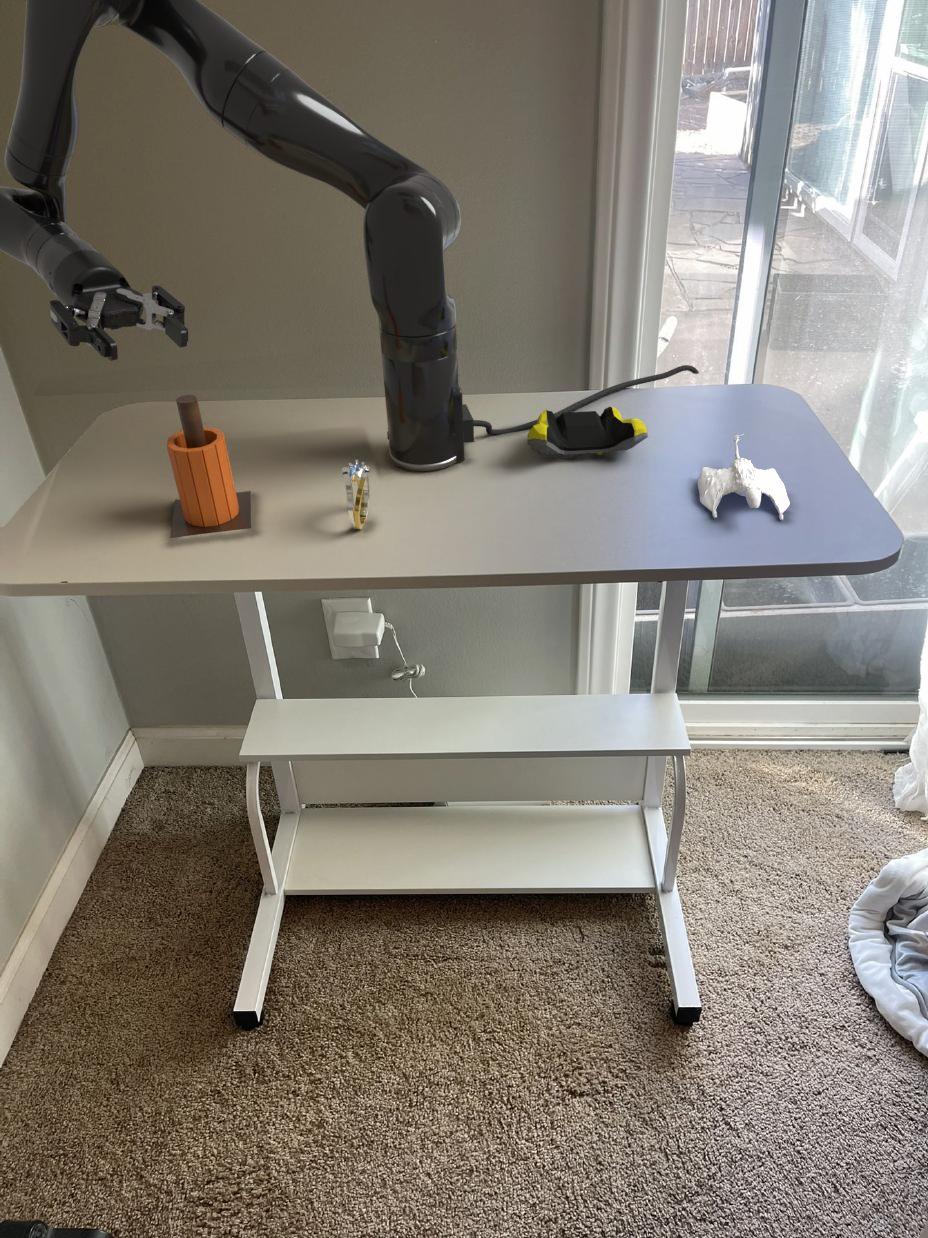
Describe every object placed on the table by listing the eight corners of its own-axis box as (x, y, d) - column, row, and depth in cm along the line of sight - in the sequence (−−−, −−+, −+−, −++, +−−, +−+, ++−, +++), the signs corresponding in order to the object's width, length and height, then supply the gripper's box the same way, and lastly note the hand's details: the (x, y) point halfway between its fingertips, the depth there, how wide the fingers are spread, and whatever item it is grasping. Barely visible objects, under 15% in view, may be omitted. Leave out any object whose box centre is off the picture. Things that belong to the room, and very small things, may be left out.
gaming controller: (648, 466, 115) (631, 432, 123) (652, 425, 112) (635, 393, 120) (529, 472, 115) (520, 437, 123) (529, 431, 112) (521, 399, 120)
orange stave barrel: (238, 497, 111) (224, 424, 105) (238, 523, 106) (223, 447, 100) (186, 503, 110) (168, 430, 104) (183, 529, 105) (164, 454, 99)
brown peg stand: (251, 496, 112) (229, 379, 103) (252, 533, 105) (228, 410, 96) (176, 505, 111) (147, 387, 102) (171, 543, 104) (139, 420, 95)
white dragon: (690, 456, 117) (694, 426, 115) (772, 458, 116) (778, 428, 114) (704, 529, 103) (709, 496, 100) (798, 532, 102) (805, 499, 99)
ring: (368, 543, 103) (361, 479, 98) (340, 541, 103) (332, 477, 98) (382, 512, 108) (376, 450, 103) (356, 510, 109) (349, 449, 104)
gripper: (19, 255, 104) (88, 326, 97) (137, 242, 113) (207, 306, 106) (26, 316, 109) (91, 387, 103) (138, 299, 118) (205, 363, 111)
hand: (150, 346), depth 104 cm, fingers open, 8 cm apart
